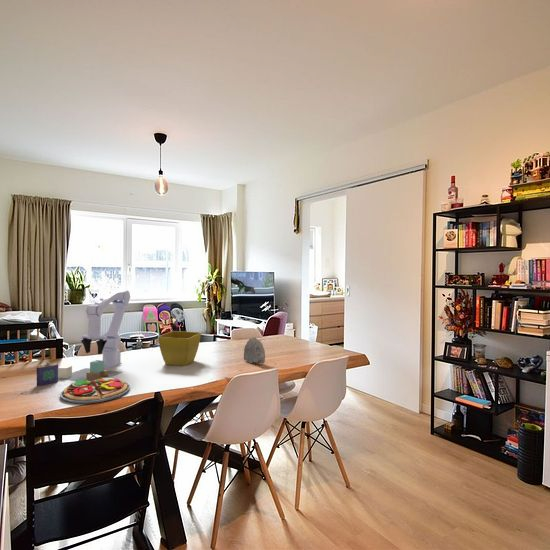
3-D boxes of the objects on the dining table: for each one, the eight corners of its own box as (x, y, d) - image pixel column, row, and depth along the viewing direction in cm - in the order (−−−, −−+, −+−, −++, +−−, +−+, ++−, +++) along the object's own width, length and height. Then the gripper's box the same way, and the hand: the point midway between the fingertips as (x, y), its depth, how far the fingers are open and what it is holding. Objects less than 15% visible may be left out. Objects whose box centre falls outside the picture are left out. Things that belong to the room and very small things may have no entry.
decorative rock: (242, 360, 221) (242, 336, 220) (251, 359, 224) (252, 335, 224) (257, 366, 207) (257, 340, 207) (266, 365, 211) (267, 339, 211)
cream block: (63, 375, 185) (63, 365, 185) (71, 375, 185) (71, 365, 185) (57, 377, 180) (57, 367, 180) (66, 378, 180) (66, 368, 180)
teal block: (96, 369, 185) (96, 360, 185) (104, 370, 184) (104, 360, 184) (89, 372, 181) (90, 362, 180) (97, 373, 179) (97, 363, 179)
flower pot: (187, 368, 203) (188, 338, 202) (156, 365, 207) (157, 336, 206) (201, 359, 221) (201, 332, 221) (172, 357, 225) (172, 330, 225)
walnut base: (96, 374, 187) (96, 368, 187) (108, 375, 185) (108, 370, 185) (86, 378, 180) (86, 372, 180) (98, 379, 178) (98, 373, 178)
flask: (56, 381, 176) (56, 359, 176) (59, 382, 175) (59, 360, 174) (35, 386, 169) (35, 363, 169) (38, 387, 167) (38, 364, 167)
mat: (85, 368, 199) (85, 368, 199) (123, 372, 192) (123, 371, 192) (55, 379, 179) (55, 378, 179) (95, 383, 173) (95, 383, 173)
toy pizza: (64, 409, 142) (64, 398, 142) (57, 389, 164) (57, 379, 164) (137, 395, 158) (137, 385, 158) (121, 378, 180) (121, 370, 180)
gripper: (77, 327, 189) (76, 353, 188) (100, 329, 185) (100, 355, 185) (87, 325, 195) (86, 351, 195) (110, 327, 192) (109, 353, 192)
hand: (93, 353), depth 190 cm, fingers open, 7 cm apart
